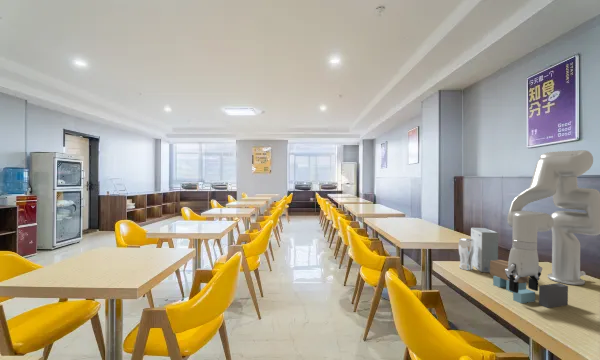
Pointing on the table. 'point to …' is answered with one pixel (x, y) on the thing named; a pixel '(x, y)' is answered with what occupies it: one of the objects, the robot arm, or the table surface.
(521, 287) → the block
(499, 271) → the slab
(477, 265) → the hard drive box
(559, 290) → the block
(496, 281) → the block
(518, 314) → the table surface
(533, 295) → the batten
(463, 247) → the beer glass
